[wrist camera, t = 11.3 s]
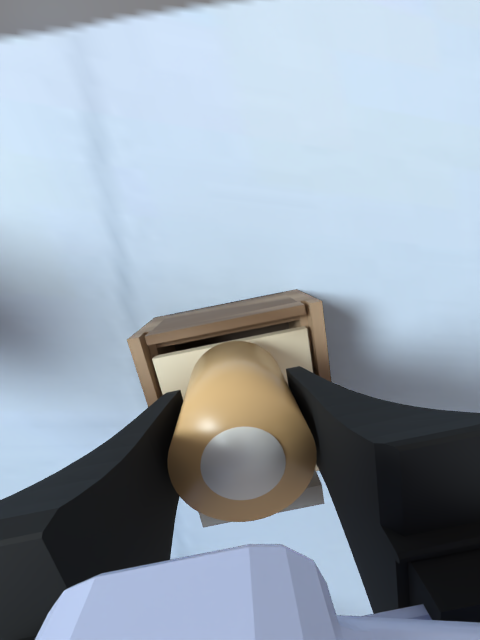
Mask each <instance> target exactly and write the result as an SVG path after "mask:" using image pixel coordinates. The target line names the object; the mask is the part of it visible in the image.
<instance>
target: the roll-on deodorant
mask: <svg viewBox="0 0 480 640" xmlns="http://www.w3.org/2000/svg"><path fill="white" fill-rule="evenodd" d="M316 460H317V451H316V445H315V441H314V438H313V435H312V433H311V431H310V429H309V427H308V425H307V423H306V421H305V419H304V417H303V415H302V413H301V410H300V408H299V406H298V404H297V402H296V400H295V398H294V396H293V394H292V392H291V390H290V388H289V386H288V384H287V382H286V380H285V378H284V376H283V374H282V372H281V370H280V367H279V366H278V364H277V362H276V360H275V359H274V357H273V356H272V355H271V354H270V353H269V352H268V351H266V350H265V349H263V348H262V347H260V346H258V345H256V344H253V343H250V342H245V341H229V342H225V343H221V344H219V345H216V346H214V347H212V348H211V349H209V350H208V351H206V352H205V353H204V354H203V355H202V356H201V357H200V358H199V360H198V361H197V363H196V364H195V366H194V368H193V371H192V374H191V377H190V380H189V384H188V387H187V391H186V394H185V397H184V401H183V404H182V407H181V411H180V414H179V417H178V421H177V424H176V428H175V431H174V434H173V438H172V441H171V444H170V448H169V452H168V459H167V461H168V472H169V477H170V480H171V483H172V485H173V487H174V488H175V490H176V492H177V493H178V495H179V496H180V497H181V498H182V499H183V500H184V501H185V502H186V503H187V504H188V505H189V506H190V507H192V508H193V509H195V510H196V511H198V512H200V513H202V514H204V515H206V516H208V517H211V518H215V519H218V520H223V521H231V522H246V521H254V520H258V519H262V518H265V517H268V516H271V515H273V514H276V513H278V512H280V511H281V510H283V509H285V508H287V507H288V506H289V505H291V504H292V503H293V502H294V501H295V500H296V499H297V498H299V497H300V495H301V494H302V493H303V492H304V491H305V489H306V488H307V486H308V485H309V483H310V481H311V479H312V477H313V474H314V471H315V467H316Z"/></svg>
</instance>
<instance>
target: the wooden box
mask: <svg viewBox="0 0 480 640" xmlns="http://www.w3.org/2000/svg"><path fill="white" fill-rule="evenodd" d="M301 326H305V327H306V328H307V332H308V339H309V347H310V354H311V362H312V369H313V373H314V374H316V375H318V376H320V377H322V378H324V379H326V380H328V381H330V382H331V375H330V366H329V358H328V349H327V340H326V332H325V323H324V315H323V306H322V301H321V300H319V299H316V298H314V297H312V296H310V295H308V294H306V293H303V292H301V291H299V290H297V289H296V290H291V291H286V292H281V293H276V294H271V295H266V296H261V297H256V298H251V299H246V300H241V301H236V302H231V303H226V304H221V305H216V306H211V307H206V308H201V309H195V310H190V311H185V312H180V313H175V314H170V315H165V316H160V317H155V318H153V319H152V320H151V321H150V322H148V323H147V324H146V325H145V326H143V327H142V328H141V329H140V330H139V331H137V332H136V333H135V334H134V335H132V336H131V337H130V338H129V339H127V342H128V345H129V348H130V351H131V354H132V357H133V360H134V364H135V367H136V370H137V373H138V376H139V379H140V382H141V386H142V389H143V392H144V395H145V398H146V401H147V404H148V407H149V406H151V405H152V404H153V403H154V402H155V401H156V400H158V399H159V398H160V397H161V396H162V395H163V394H162V391H161V387H160V384H159V381H158V377H157V374H156V371H155V367H154V364H153V361H152V359H153V357H154V356H156V355H161V354H166V353H171V352H176V351H181V350H186V349H191V348H196V347H201V346H206V345H211V344H216V343H221V342H226V341H231V340H236V339H241V338H246V337H251V336H256V335H261V334H266V333H271V332H276V331H281V330H286V329H291V328H296V327H301Z"/></svg>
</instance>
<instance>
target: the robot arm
mask: <svg viewBox="0 0 480 640" xmlns="http://www.w3.org/2000/svg"><path fill="white" fill-rule="evenodd" d="M286 374H287V380H288V386H289V388H290V390H291V392H292V394H293V396H294V398H295V400H296V402H297V404H298V406H299V408H300V410H301V413H302V415H303V417H304V419H305V421H306V423H307V425H308V427H309V429H310V431H311V433H312V435H313V438H314V441H315V445H316V451H317V460H316V465H317V467H318V469H319V471H320V473H321V475H322V477H323V479H324V481H325V483H326V486H327V488H328V490H329V493H330V496H331V498H332V501H333V503H334V506H335V509H336V511H337V514H338V516H339V519H340V522H341V524H342V527H343V530H344V532H345V535H346V538H347V541H348V543H349V546H350V549H351V551H352V554H353V557H354V560H355V562H356V565H357V568H358V571H359V573H360V576H361V579H362V582H363V585H364V587H365V590H366V593H367V596H368V599H369V601H370V604H371V607H372V610H373V613H374V614H370V615H365V616H341V615H336V613H335V609H334V606H333V603H332V600H331V596H330V593H329V590H328V586H327V583H326V581H325V580H324V578H323V576H322V574H321V573H320V571H319V569H318V567H317V566H316V564H315V562H314V561H313V560H312V559H310V558H308V557H306V556H304V555H302V554H300V553H298V552H296V551H294V550H292V549H290V548H288V547H286V546H284V545H281V544H248V545H243V546H238V547H233V548H228V549H223V550H218V551H213V552H208V553H203V554H197V555H192V556H187V557H182V558H177V559H172V560H170V554H171V546H172V538H173V530H174V523H175V516H176V510H177V505H178V501H179V495H178V493H177V492H176V490H175V488H174V487H173V485H172V483H171V480H170V477H169V472H168V461H167V459H168V452H169V448H170V444H171V441H172V438H173V434H174V431H175V428H176V424H177V421H178V417H179V414H180V411H181V407H182V404H183V397H182V394H181V390H177V391H172V392H167V393H165V394H164V395H162V396H161V397H160V398H159V399H158V400H156V401H155V402H154V403H153V404H152V405H151V406H149V407H148V408H147V409H146V410H145V411H144V412H143V413H141V414H140V415H139V416H138V417H137V418H136V419H134V420H133V421H132V422H131V423H129V424H128V425H127V426H126V427H125V428H123V429H122V430H121V431H120V432H118V433H117V434H116V435H114V436H113V437H112V438H110V439H109V440H108V441H106V442H105V443H103V444H102V445H100V446H99V447H97V448H96V449H95V450H93V451H92V452H90V453H88V454H87V455H85V456H84V457H82V458H80V459H79V460H77V461H75V462H74V463H72V464H70V465H68V466H67V467H65V468H63V469H62V470H60V471H58V472H56V473H55V474H53V475H51V476H49V477H47V478H45V479H43V480H42V481H40V482H38V483H36V484H34V485H32V486H30V487H28V488H26V489H24V490H22V491H19V492H17V493H15V494H13V495H11V496H9V497H7V498H4V499H2V500H0V640H480V413H470V412H458V411H445V410H435V409H428V408H421V407H414V406H409V405H403V404H398V403H394V402H389V401H385V400H380V399H377V398H373V397H370V396H366V395H363V394H360V393H357V392H354V391H351V390H349V389H346V388H344V387H341V386H339V385H336V384H334V383H332V382H330V381H328V380H326V379H324V378H322V377H320V376H318V375H316V374H314V373H312V372H310V371H308V370H306V369H305V368H303V367H300V366H297V367H292V368H287V369H286Z"/></svg>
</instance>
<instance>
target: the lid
mask: <svg viewBox="0 0 480 640" xmlns="http://www.w3.org/2000/svg"><path fill="white" fill-rule="evenodd" d="M231 341H245V342H250V343H253V344H256V345H258V346H260V347H262V348H263V349H265V350H266V351H268V352H269V353H270V354H271V355H272V356H273V357H274V359H275V360H276V362H277V364H278V366H279V367H280V370H281V372H282V374H283V376H284V378H285V380H286V382H287V384H288V380H287V374H286V369H287V368H292V367H297V366H300V367H303V368H305V369H306V370H308V371H310V372H312V373H313V369H312V362H311V354H310V347H309V339H308V332H307V328H306V327H305V326H301V327H296V328H291V329H286V330H281V331H276V332H271V333H266V334H261V335H256V336H251V337H246V338H241V339H236V340H231ZM226 342H229V341H226ZM221 343H225V342H221ZM221 343H216V344H211V345H206V346H201V347H196V348H191V349H186V350H181V351H176V352H171V353H166V354H161V355H156V356H154V357H153V359H152V361H153V364H154V367H155V371H156V374H157V377H158V381H159V384H160V387H161V391H162V394H163V395H164V394H165V393H167V392H172V391H177V390H181V394H182V397H183V401H184V397H185V394H186V391H187V387H188V384H189V380H190V377H191V374H192V371H193V368H194V366H195V364H196V363H197V361H198V360H199V358H200V357H201V356H202V355H203V354H204V353H205V352H206V351H208V350H209V349H211V348H212V347H214V346H216V345H219V344H221ZM316 471H319V469H318V467H317V465H316V467H315V471H314V474H313V477H312V479H311V481H310V483H309V485H308V486H307V488H306V489H305V491H304V492H303V493H302V494H301V495H300V497H299V498H297V499H296V500H295V501H294V502H293V503H292V504H291V505H289V506H288V507H287V508H285V509H283V510H281V511H280V512H284V511H289V510H294V509H299V508H304V507H309V506H314V505H319V504H324V498H323V491H322V485H321V482H320V480H319V477H318V475H317V473H316ZM278 513H279V512H278ZM199 515H200V518H201V522H202V525H203V527H208V526H213V525H218V524H223V523H228V522H231V521H223V520H218V519H215V518H211V517H208V516H206V515H204V514H202V513H200V512H199Z"/></svg>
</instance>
